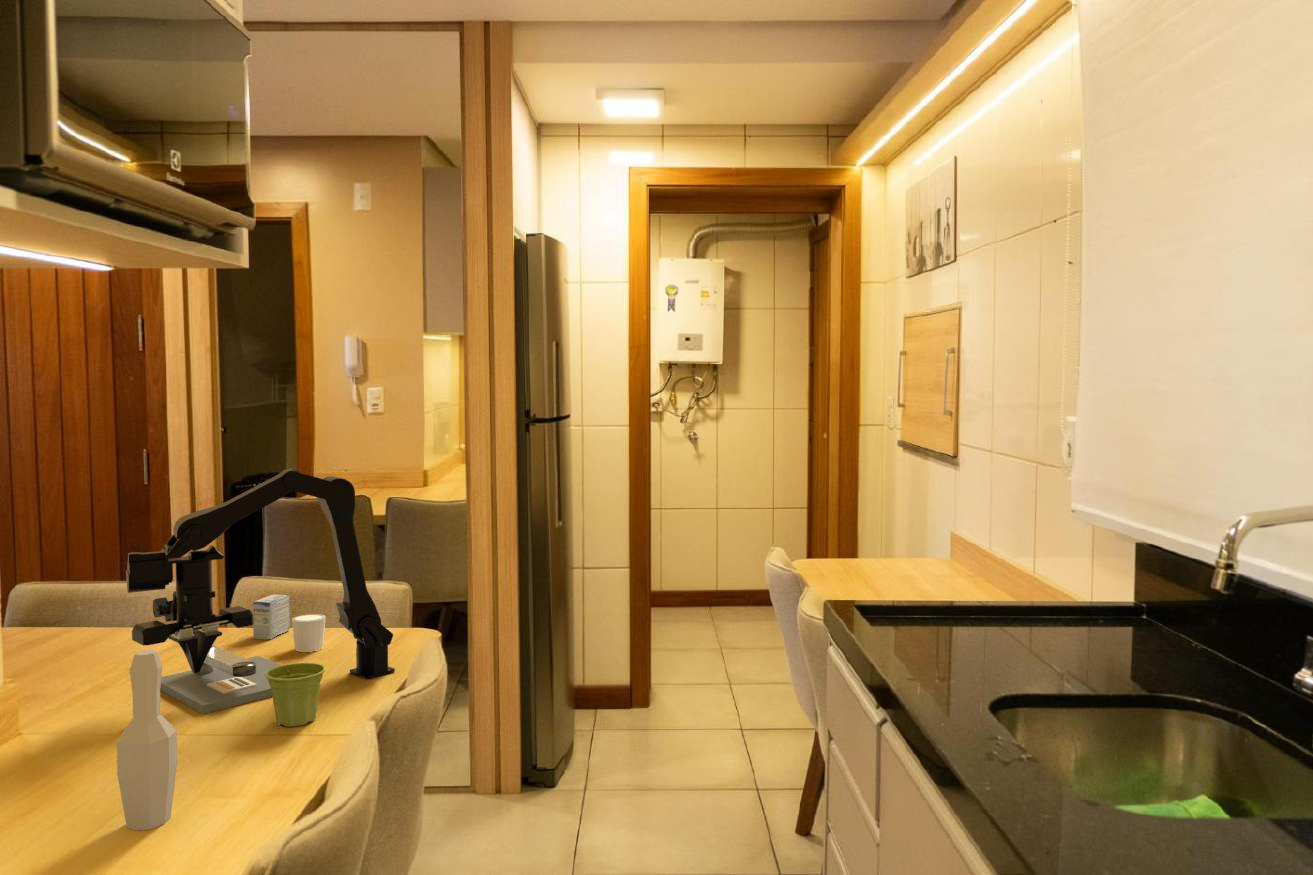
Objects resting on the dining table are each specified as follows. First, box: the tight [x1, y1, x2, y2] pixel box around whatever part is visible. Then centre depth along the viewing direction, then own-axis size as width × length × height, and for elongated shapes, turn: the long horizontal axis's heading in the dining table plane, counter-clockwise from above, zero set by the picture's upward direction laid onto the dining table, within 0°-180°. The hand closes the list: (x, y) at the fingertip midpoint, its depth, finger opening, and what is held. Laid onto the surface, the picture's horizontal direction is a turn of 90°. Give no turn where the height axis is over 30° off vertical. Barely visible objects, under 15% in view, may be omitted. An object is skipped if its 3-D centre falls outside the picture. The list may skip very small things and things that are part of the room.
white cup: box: [291, 613, 326, 653], centre depth 191 cm, size 7×7×7 cm
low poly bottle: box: [116, 649, 178, 831], centre depth 112 cm, size 6×6×22 cm
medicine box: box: [252, 594, 291, 640], centre depth 202 cm, size 8×4×9 cm, turn 172°
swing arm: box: [204, 642, 256, 677], centre depth 164 cm, size 21×4×4 cm, turn 50°
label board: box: [160, 655, 282, 715], centre depth 166 cm, size 22×20×4 cm
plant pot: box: [265, 662, 326, 728], centre depth 148 cm, size 9×9×9 cm
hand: (195, 672), depth 157 cm, fingers closed
